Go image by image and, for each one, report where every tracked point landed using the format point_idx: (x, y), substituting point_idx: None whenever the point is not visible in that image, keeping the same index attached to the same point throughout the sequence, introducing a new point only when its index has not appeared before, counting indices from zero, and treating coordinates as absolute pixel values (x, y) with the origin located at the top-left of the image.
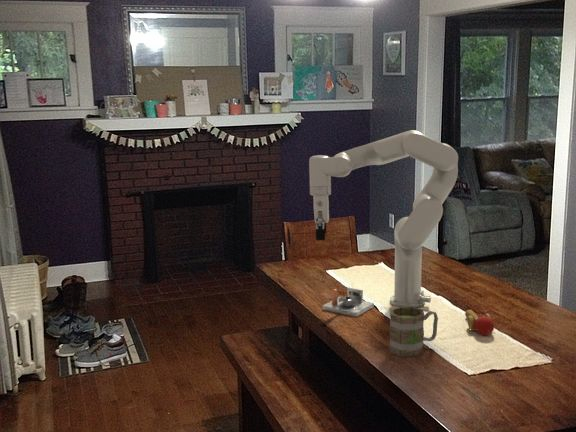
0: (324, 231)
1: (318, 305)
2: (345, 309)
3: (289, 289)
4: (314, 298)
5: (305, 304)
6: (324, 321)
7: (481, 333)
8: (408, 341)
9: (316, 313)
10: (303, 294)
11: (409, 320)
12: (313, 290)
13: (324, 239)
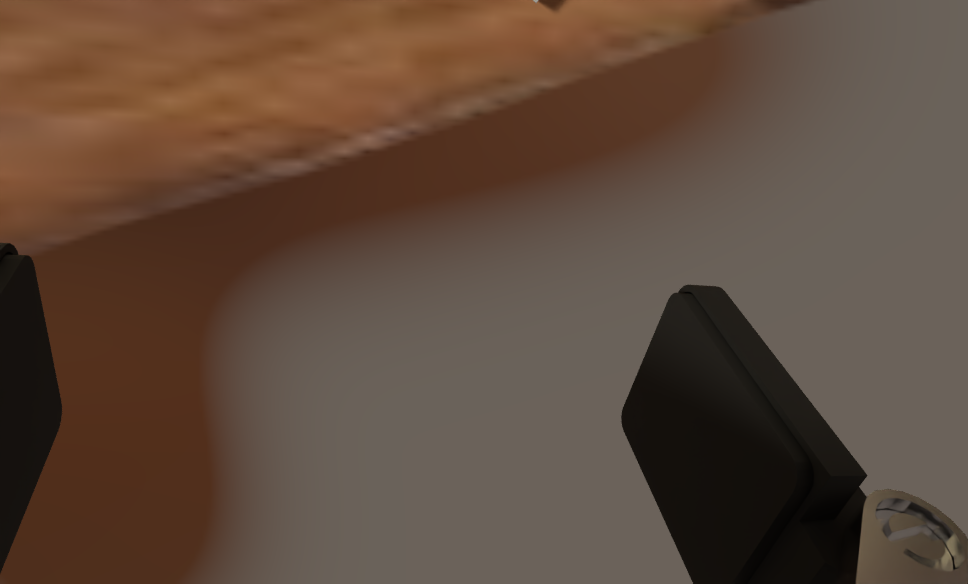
0: (818, 430)
1: (429, 20)
2: None
3: (26, 225)
4: (252, 39)
5: (396, 118)
6: (756, 8)
7: None
8: None
9: (595, 51)
10: (148, 123)
11: None
12: (13, 30)
13: (714, 296)
